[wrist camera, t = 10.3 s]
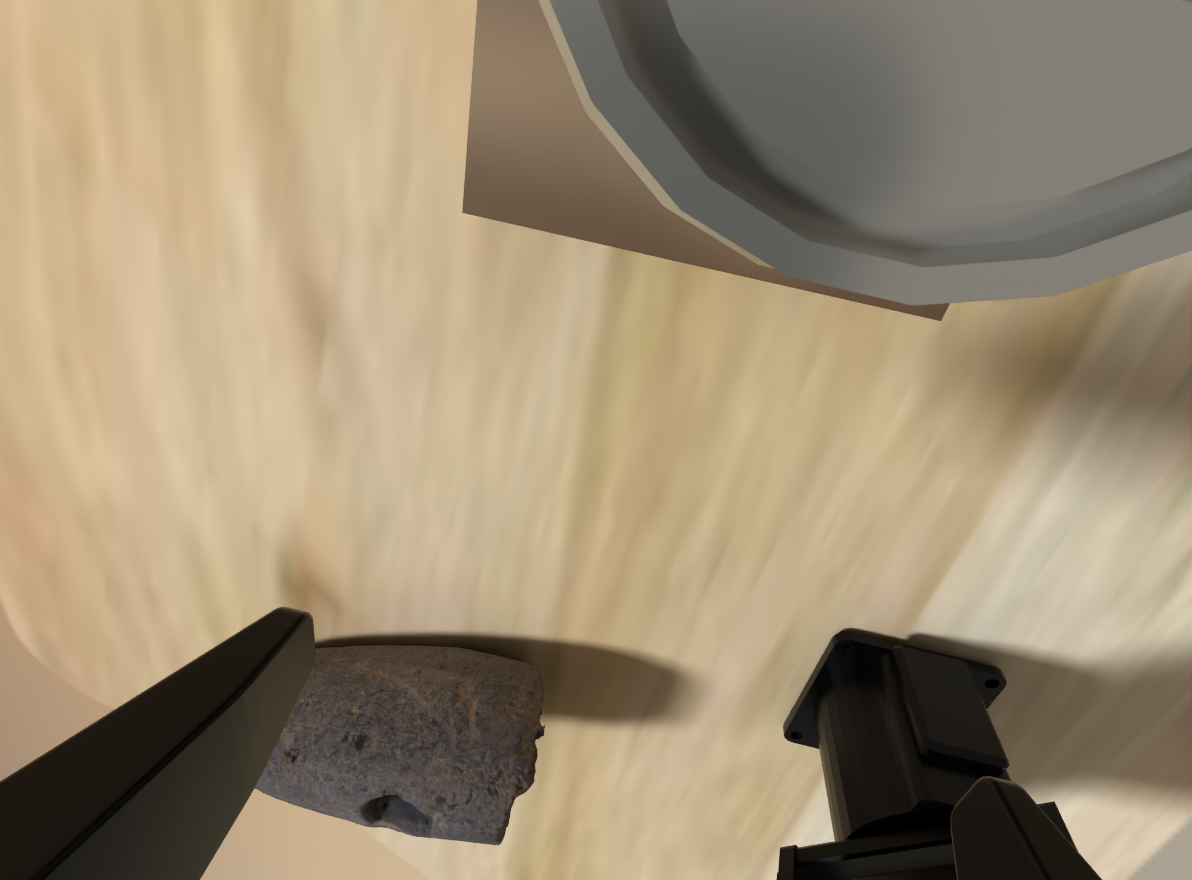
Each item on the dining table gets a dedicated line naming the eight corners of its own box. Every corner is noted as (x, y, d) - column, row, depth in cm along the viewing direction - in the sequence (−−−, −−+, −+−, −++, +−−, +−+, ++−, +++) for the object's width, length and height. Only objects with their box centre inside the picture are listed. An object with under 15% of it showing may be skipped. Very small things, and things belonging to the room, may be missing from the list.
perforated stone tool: (268, 683, 32) (169, 828, 26) (233, 605, 29) (114, 747, 23) (569, 713, 30) (536, 878, 24) (562, 632, 27) (523, 795, 21)
